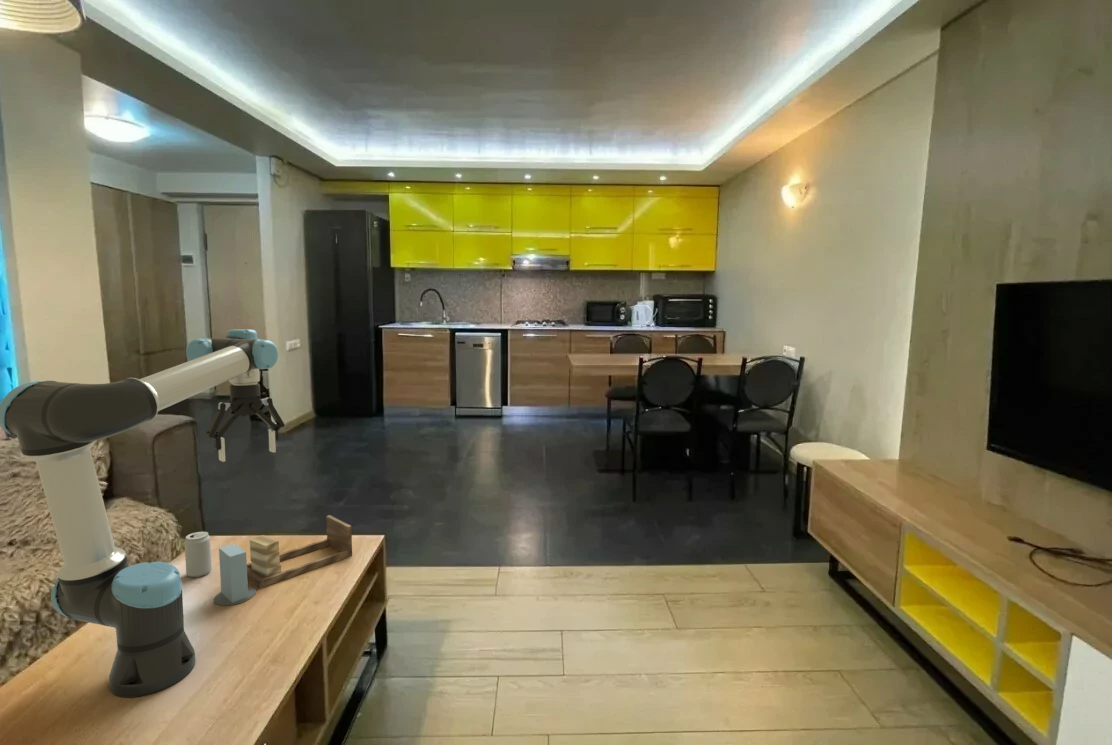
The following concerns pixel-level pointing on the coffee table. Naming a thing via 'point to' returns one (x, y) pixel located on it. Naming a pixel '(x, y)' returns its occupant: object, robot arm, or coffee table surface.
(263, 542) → the offcut
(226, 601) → the coaster
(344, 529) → the rack
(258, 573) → the offcut
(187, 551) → the beverage can
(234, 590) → the light blue block
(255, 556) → the offcut
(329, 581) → the coffee table surface
